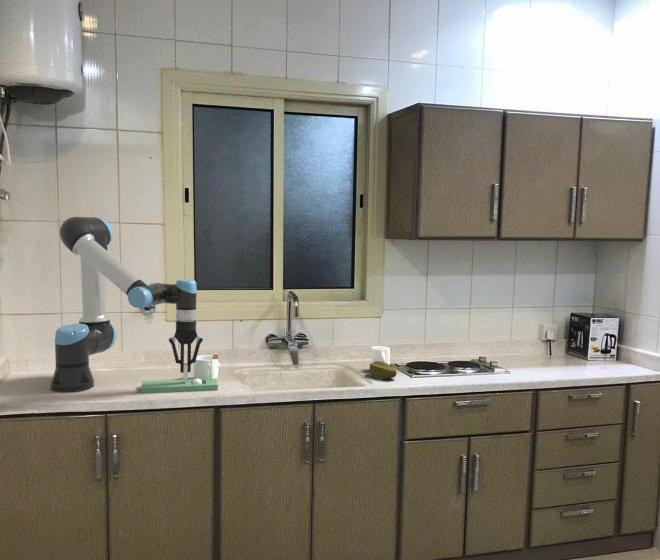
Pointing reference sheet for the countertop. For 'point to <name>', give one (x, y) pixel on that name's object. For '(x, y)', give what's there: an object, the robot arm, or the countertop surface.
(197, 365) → the mug
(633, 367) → the countertop surface
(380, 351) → the mug
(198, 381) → the ball
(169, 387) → the green
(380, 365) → the fruit
